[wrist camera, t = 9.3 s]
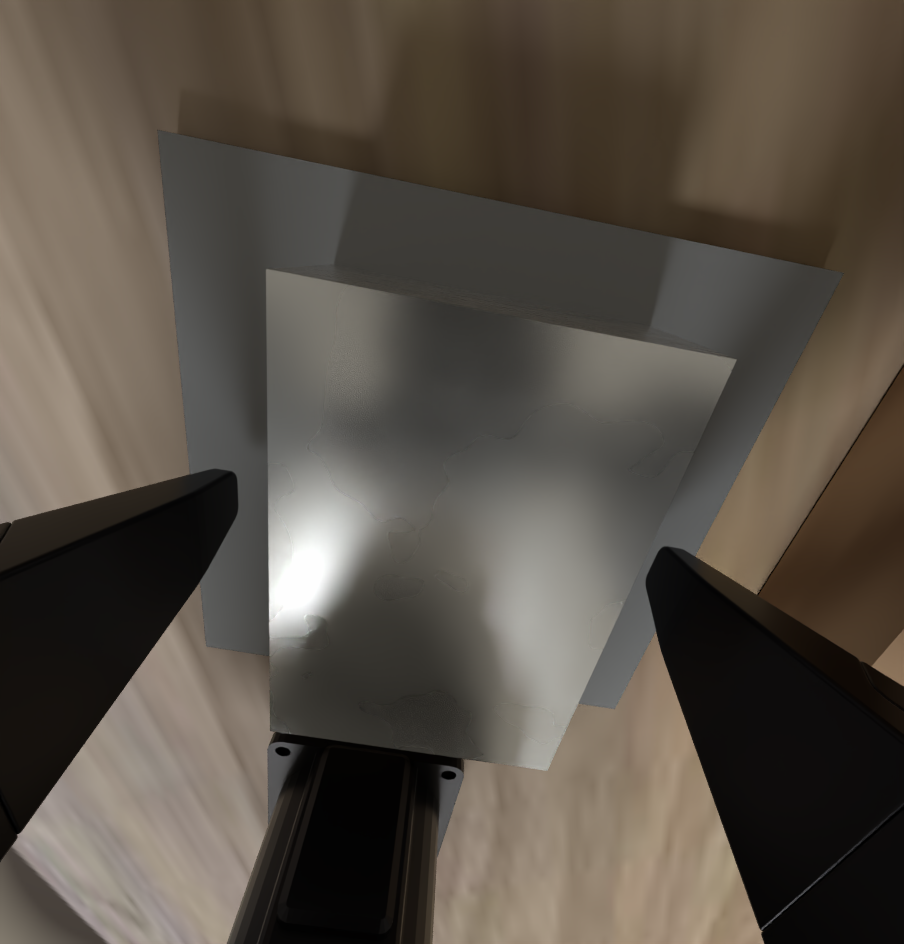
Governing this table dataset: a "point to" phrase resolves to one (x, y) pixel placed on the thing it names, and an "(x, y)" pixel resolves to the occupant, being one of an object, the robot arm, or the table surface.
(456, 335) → the lever cap
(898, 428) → the plane body
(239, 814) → the table surface
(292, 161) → the rubber mat
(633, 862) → the table surface
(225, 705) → the table surface
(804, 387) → the table surface
